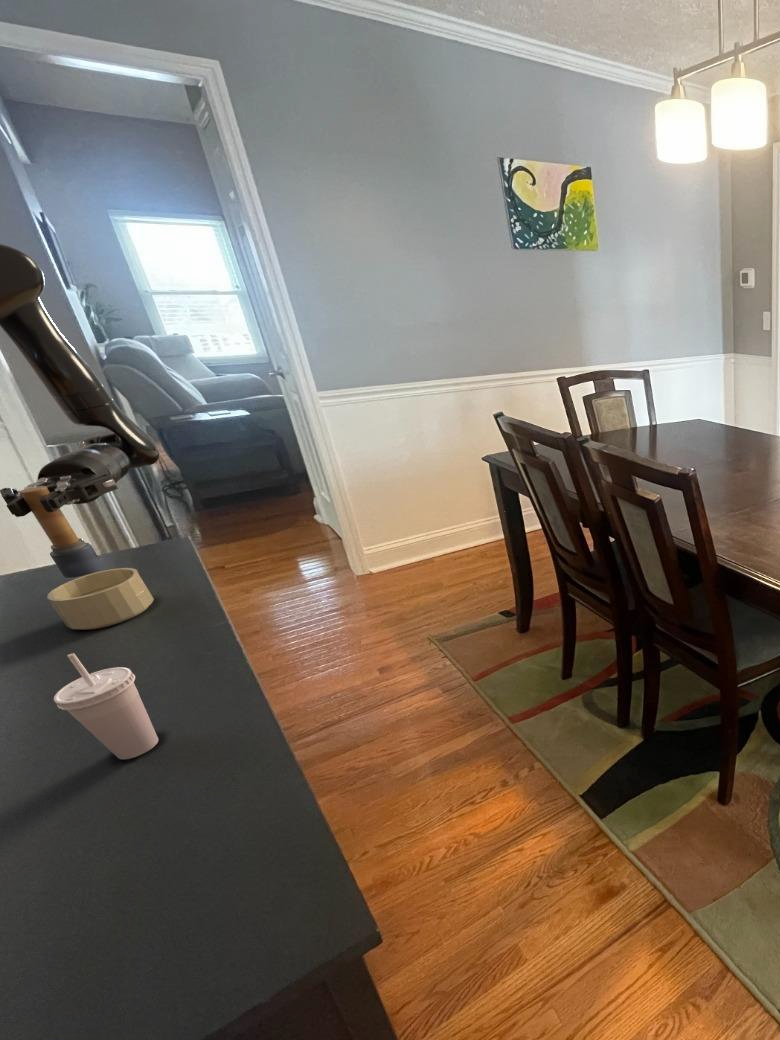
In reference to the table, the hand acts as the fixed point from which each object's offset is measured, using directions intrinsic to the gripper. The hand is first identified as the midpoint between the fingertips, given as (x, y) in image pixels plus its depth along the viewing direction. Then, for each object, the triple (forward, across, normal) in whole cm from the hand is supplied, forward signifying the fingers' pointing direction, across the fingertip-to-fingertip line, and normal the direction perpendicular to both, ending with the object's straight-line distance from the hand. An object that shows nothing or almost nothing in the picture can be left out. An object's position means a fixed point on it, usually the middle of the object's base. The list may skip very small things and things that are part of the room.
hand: (31, 508), depth 88 cm
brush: (-3, 0, +12) cm, 12 cm away
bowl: (-3, 0, +20) cm, 20 cm away
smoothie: (+41, +16, +20) cm, 48 cm away
